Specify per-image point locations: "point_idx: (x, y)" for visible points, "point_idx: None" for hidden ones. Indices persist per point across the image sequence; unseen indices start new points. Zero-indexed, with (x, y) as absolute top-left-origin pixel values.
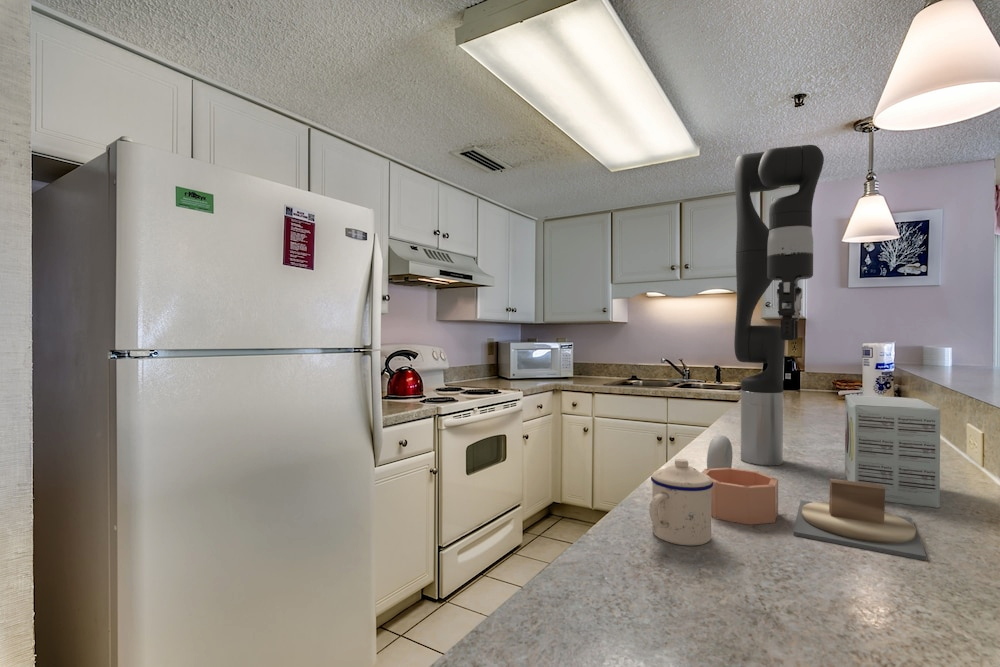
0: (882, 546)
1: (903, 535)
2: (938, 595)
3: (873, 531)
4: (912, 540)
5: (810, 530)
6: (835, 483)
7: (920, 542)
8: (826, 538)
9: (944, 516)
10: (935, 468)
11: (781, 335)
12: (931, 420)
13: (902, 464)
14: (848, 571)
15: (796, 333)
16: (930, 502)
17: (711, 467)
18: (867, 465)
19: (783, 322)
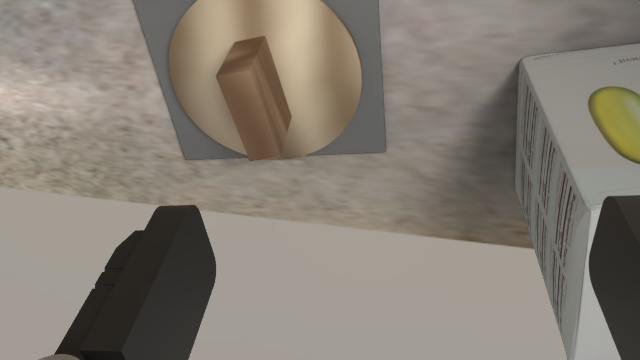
0: (177, 112)
1: (223, 144)
2: (73, 159)
3: (203, 107)
4: None
5: (160, 6)
6: (218, 81)
7: (245, 157)
8: (145, 35)
9: (459, 191)
10: (533, 241)
11: (149, 229)
12: (561, 328)
13: (533, 194)
14: (48, 71)
15: (605, 310)
16: (516, 184)
17: None
18: (534, 125)
19: (65, 342)
